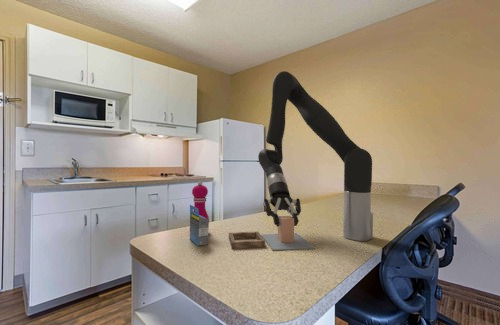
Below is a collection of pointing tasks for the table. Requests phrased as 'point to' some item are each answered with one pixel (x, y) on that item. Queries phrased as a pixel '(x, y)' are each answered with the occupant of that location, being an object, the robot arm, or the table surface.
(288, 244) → the slate mat
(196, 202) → the pepper mill
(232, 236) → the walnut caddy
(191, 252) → the table surface
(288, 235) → the terracotta block
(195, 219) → the label tape cartridge
